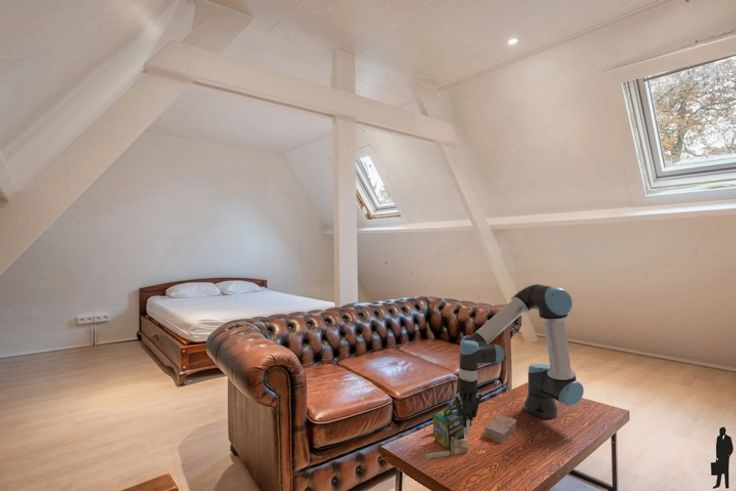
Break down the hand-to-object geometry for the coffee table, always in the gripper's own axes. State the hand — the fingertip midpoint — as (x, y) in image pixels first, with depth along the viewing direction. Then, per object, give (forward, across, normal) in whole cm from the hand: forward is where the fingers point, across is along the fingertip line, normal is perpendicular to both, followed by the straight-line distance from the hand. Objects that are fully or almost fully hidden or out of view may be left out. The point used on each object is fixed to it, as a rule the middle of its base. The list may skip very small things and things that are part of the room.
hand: (466, 434), depth 156 cm
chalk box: (+3, +7, 0) cm, 8 cm away
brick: (+3, -18, -2) cm, 19 cm away
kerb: (+3, +17, +8) cm, 19 cm away
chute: (+3, +7, 0) cm, 8 cm away
